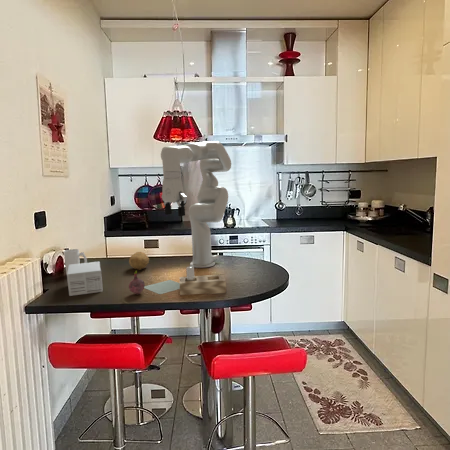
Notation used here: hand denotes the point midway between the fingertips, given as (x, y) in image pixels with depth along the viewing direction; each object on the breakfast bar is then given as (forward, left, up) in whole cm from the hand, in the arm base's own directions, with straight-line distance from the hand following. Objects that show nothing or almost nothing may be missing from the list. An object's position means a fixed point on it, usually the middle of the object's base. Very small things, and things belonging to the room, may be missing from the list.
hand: (175, 215), depth 167 cm
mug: (+29, -43, -29) cm, 60 cm away
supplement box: (+35, -19, -29) cm, 49 cm away
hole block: (+3, +22, -29) cm, 36 cm away
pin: (+7, +19, -29) cm, 35 cm away
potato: (+3, -29, -29) cm, 41 cm away
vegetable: (+24, +7, -29) cm, 38 cm away
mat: (+11, +7, -29) cm, 32 cm away
